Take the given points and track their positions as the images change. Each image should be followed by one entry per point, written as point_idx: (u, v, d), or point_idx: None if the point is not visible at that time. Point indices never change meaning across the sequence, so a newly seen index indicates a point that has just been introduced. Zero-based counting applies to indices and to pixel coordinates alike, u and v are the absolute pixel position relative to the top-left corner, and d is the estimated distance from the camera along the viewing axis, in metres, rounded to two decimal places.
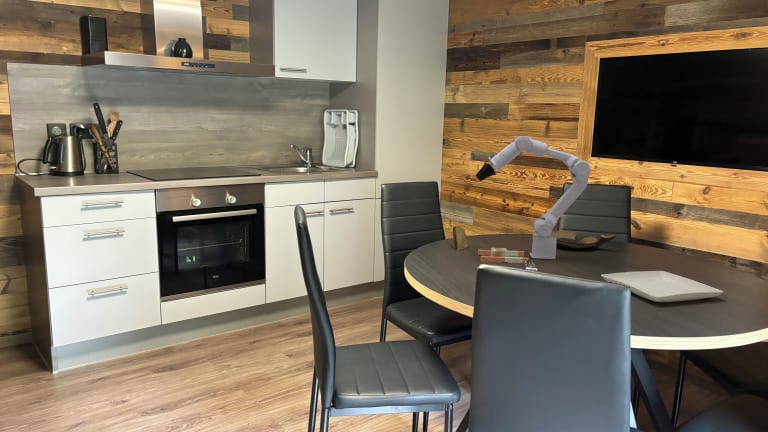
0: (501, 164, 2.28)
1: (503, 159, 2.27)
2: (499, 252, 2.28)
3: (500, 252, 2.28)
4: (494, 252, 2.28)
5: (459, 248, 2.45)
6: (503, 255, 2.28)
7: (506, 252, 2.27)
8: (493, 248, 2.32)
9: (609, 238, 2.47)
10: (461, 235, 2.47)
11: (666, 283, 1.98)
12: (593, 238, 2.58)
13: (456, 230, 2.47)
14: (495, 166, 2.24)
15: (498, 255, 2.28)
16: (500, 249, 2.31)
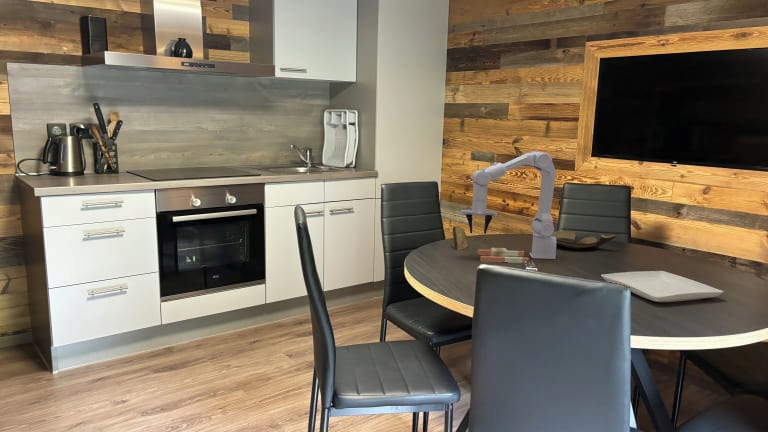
0: None
1: (486, 201, 2.28)
2: (499, 252, 2.28)
3: (500, 252, 2.28)
4: (494, 252, 2.28)
5: (459, 248, 2.45)
6: (503, 255, 2.28)
7: (506, 252, 2.27)
8: (493, 248, 2.32)
9: (609, 238, 2.47)
10: (461, 235, 2.47)
11: (666, 283, 1.98)
12: (593, 238, 2.58)
13: (456, 230, 2.47)
14: None
15: (498, 255, 2.28)
16: (500, 249, 2.31)
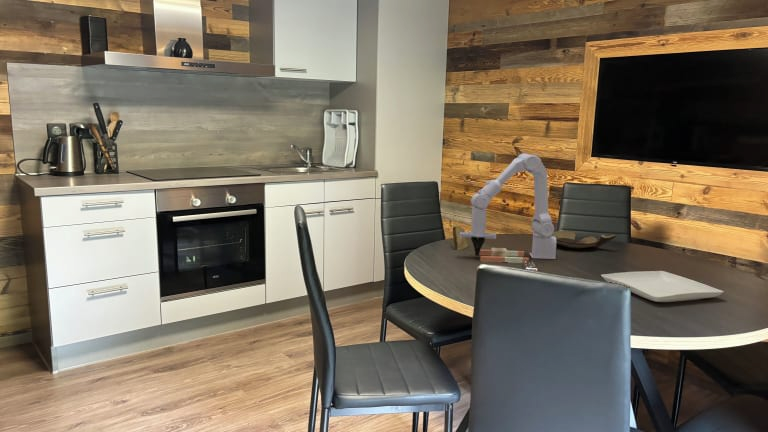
0: None
1: (485, 224, 2.29)
2: (499, 252, 2.28)
3: (500, 252, 2.28)
4: (494, 252, 2.28)
5: (459, 248, 2.45)
6: (503, 255, 2.28)
7: (506, 252, 2.27)
8: (493, 248, 2.33)
9: (609, 238, 2.47)
10: None
11: (666, 283, 1.98)
12: (593, 238, 2.58)
13: (456, 230, 2.47)
14: (495, 236, 2.29)
15: (498, 255, 2.28)
16: (500, 249, 2.31)
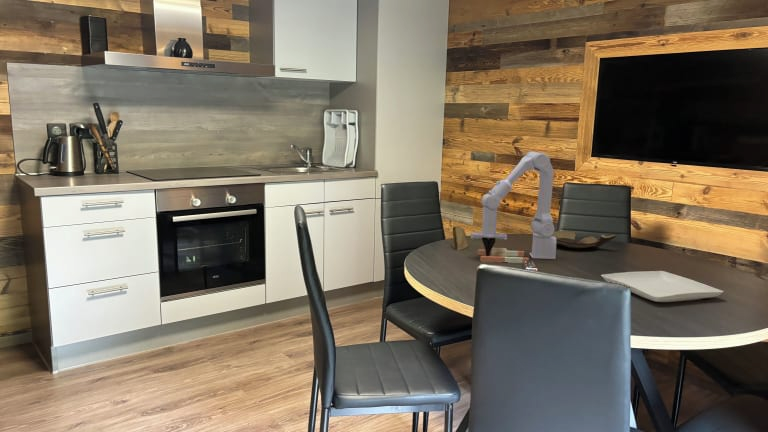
0: None
1: None
2: (498, 252, 2.28)
3: (499, 252, 2.28)
4: (493, 252, 2.28)
5: (459, 248, 2.45)
6: (502, 255, 2.28)
7: (505, 252, 2.27)
8: (493, 248, 2.33)
9: (609, 238, 2.47)
10: (461, 235, 2.47)
11: (666, 283, 1.98)
12: (593, 238, 2.58)
13: (456, 230, 2.47)
14: (506, 236, 2.29)
15: (498, 255, 2.28)
16: (500, 249, 2.31)
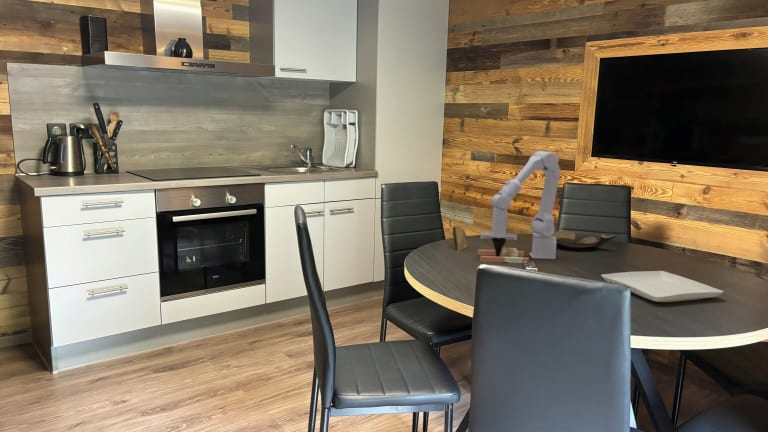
0: None
1: None
2: (509, 252, 2.27)
3: (510, 252, 2.27)
4: (504, 252, 2.28)
5: (459, 248, 2.45)
6: (513, 255, 2.27)
7: (516, 252, 2.27)
8: (503, 248, 2.32)
9: (609, 238, 2.47)
10: (461, 235, 2.47)
11: (666, 283, 1.98)
12: (593, 238, 2.58)
13: (456, 230, 2.47)
14: (516, 236, 2.29)
15: (508, 255, 2.28)
16: (510, 249, 2.30)
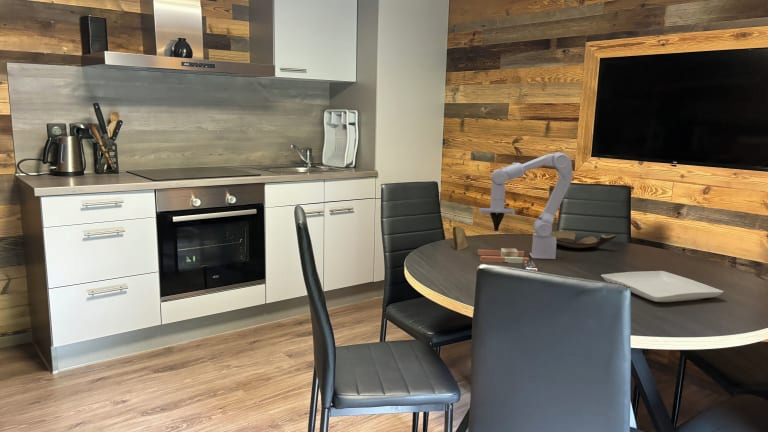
0: None
1: None
2: (509, 252, 2.27)
3: (510, 252, 2.27)
4: (504, 252, 2.27)
5: (459, 248, 2.45)
6: (513, 255, 2.27)
7: (516, 252, 2.27)
8: (503, 248, 2.32)
9: (609, 238, 2.47)
10: (461, 235, 2.47)
11: (666, 283, 1.98)
12: (593, 238, 2.58)
13: (456, 230, 2.47)
14: (514, 211, 2.34)
15: (509, 255, 2.28)
16: (510, 249, 2.30)
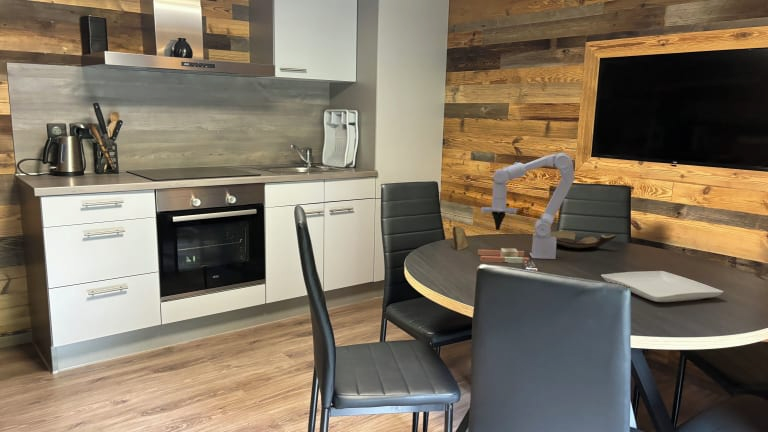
0: None
1: None
2: (509, 252, 2.27)
3: (510, 252, 2.27)
4: (504, 252, 2.27)
5: (459, 248, 2.45)
6: (513, 255, 2.27)
7: (516, 252, 2.27)
8: (503, 248, 2.32)
9: (609, 238, 2.47)
10: (461, 235, 2.47)
11: (666, 283, 1.98)
12: (593, 238, 2.58)
13: (456, 230, 2.47)
14: None
15: (509, 256, 2.28)
16: (510, 249, 2.30)
